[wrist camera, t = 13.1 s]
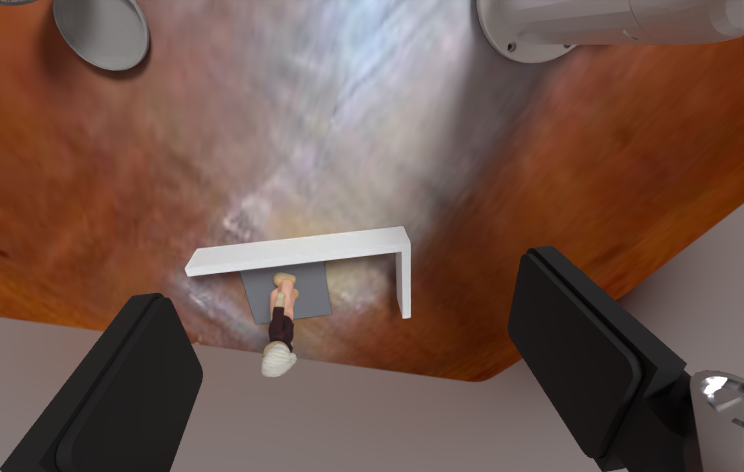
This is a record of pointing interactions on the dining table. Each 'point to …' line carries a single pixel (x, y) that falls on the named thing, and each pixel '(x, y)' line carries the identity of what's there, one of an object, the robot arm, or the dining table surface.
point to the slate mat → (307, 284)
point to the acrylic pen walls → (312, 255)
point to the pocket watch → (101, 30)
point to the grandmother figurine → (280, 327)
